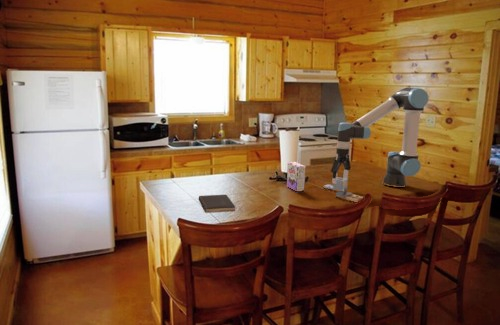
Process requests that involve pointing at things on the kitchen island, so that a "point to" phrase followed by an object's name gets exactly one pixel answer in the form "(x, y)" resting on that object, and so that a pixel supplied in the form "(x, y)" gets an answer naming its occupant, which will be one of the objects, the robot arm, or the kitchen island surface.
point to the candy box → (296, 176)
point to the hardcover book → (216, 203)
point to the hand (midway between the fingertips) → (339, 181)
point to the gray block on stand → (344, 191)
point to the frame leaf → (354, 198)
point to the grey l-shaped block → (336, 185)
